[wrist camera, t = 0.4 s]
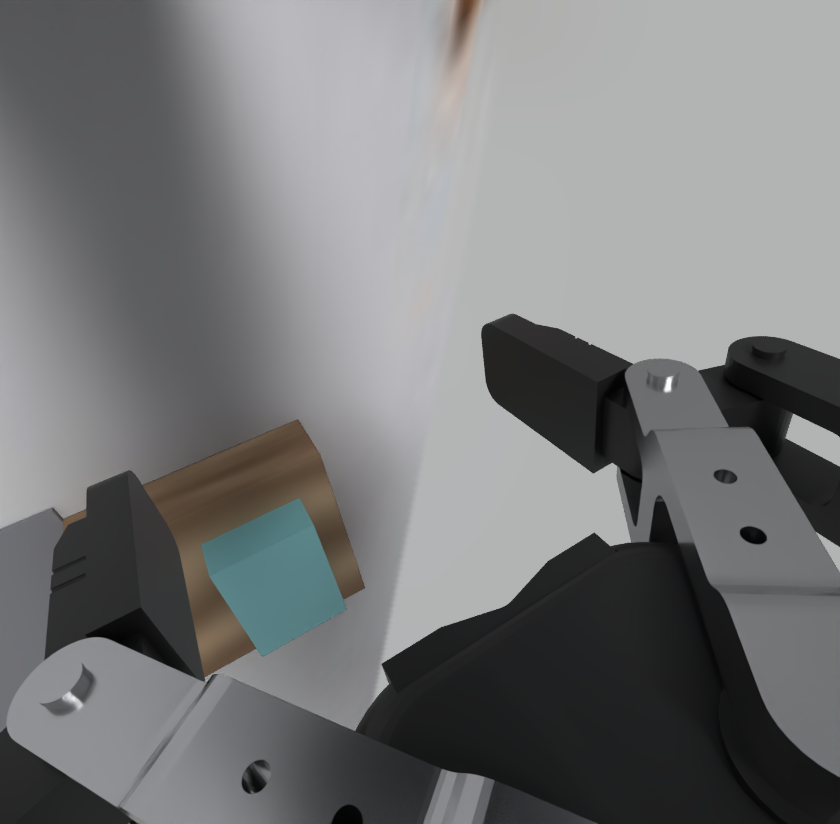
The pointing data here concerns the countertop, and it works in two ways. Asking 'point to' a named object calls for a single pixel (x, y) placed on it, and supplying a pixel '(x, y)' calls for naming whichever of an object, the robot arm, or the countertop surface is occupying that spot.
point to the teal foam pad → (274, 576)
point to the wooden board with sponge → (236, 505)
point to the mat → (24, 599)
